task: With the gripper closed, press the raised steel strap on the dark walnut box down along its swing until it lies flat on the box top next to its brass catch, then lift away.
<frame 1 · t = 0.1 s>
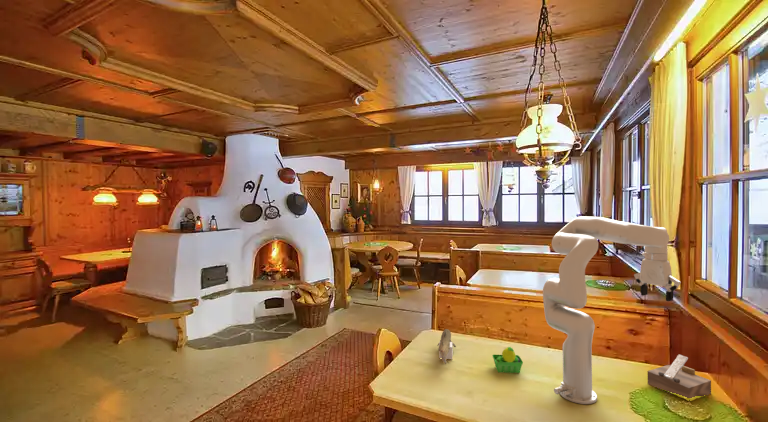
hand: (656, 297, 148), 31 cm above the table, tool pointing down, fingers open, 9 cm apart
steel strap: (675, 366, 135), point 9 cm above the table, hinge at 35.0°
wood carving: (445, 359, 166), on the table
fruit basket: (507, 371, 153), on the table
walnut box: (678, 388, 135), on the table
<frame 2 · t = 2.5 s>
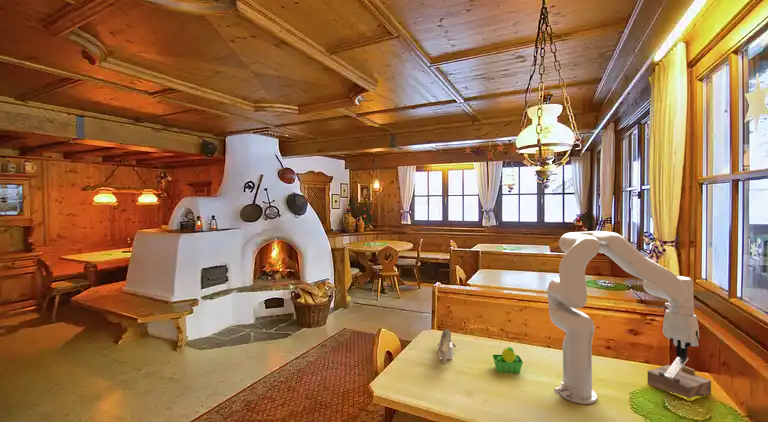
hand: (681, 356, 136), 12 cm above the table, tool pointing down, fingers closed
steel strap: (676, 367, 135), point 9 cm above the table, hinge at 33.4°, touching gripper
everything else where it was.
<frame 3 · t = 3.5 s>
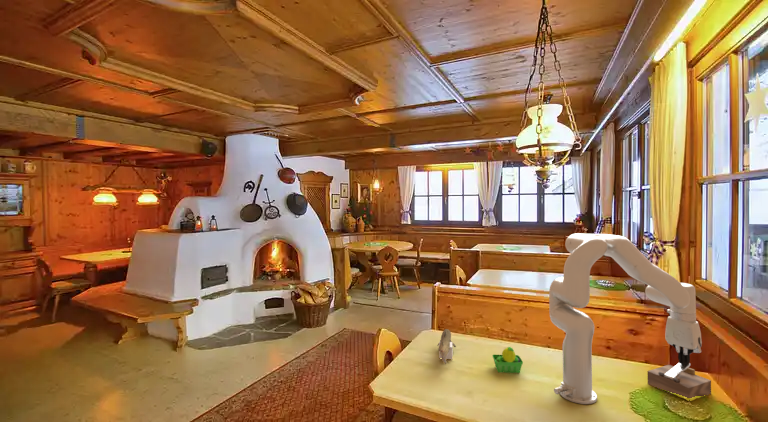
hand: (684, 363, 136), 9 cm above the table, tool pointing down, fingers closed
steel strap: (677, 370, 135), point 7 cm above the table, hinge at 17.5°, touching gripper
everything else where it was.
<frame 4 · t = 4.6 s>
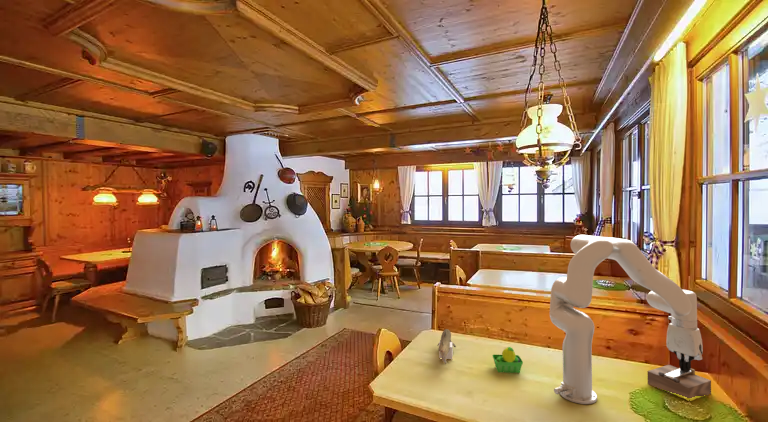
hand: (685, 370, 137), 6 cm above the table, tool pointing down, fingers closed
steel strap: (677, 373, 135), point 6 cm above the table, hinge at 2.7°, touching gripper
everything else where it was.
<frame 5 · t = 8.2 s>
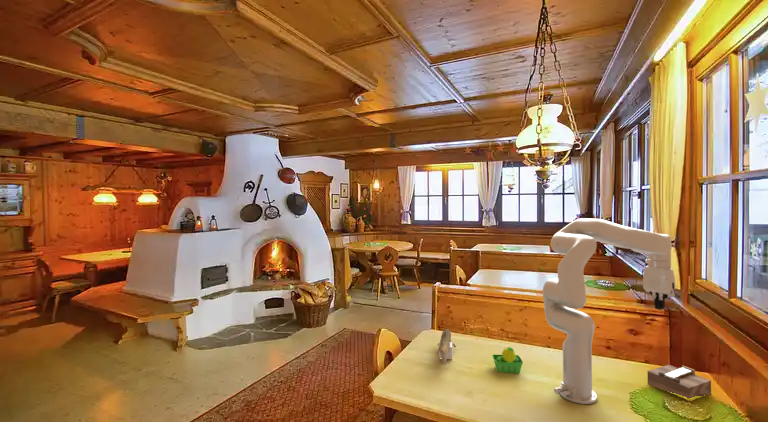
hand: (659, 308, 146), 27 cm above the table, tool pointing down, fingers closed
steel strap: (677, 373, 135), point 6 cm above the table, hinge at 2.6°
everything else where it was.
at the end: steel strap at +3° (first picture: +35°) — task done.
